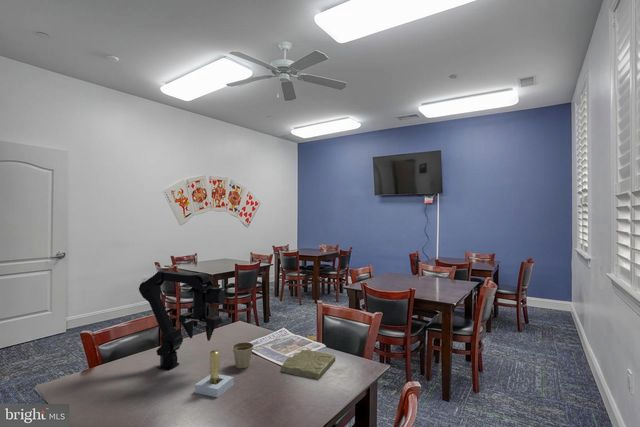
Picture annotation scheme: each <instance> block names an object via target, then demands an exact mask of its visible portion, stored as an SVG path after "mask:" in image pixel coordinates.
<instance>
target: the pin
mask: <svg viewBox="0 0 640 427" xmlns="http://www.w3.org/2000/svg"><path fill="white" fill-rule="evenodd" d="M219 374H220V350H218V349H217V350H216V349H214V350H211V351H210V352H209V375H210V384H215V385H216V384H218V383H219Z"/></svg>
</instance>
